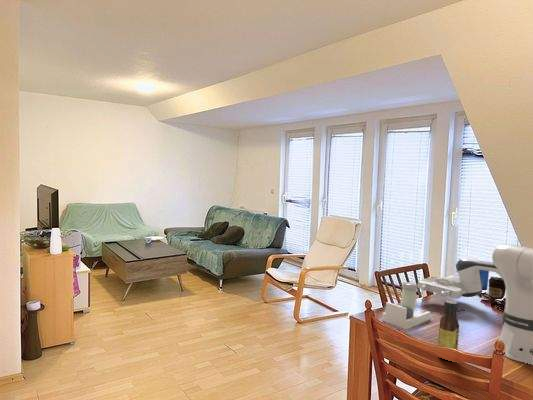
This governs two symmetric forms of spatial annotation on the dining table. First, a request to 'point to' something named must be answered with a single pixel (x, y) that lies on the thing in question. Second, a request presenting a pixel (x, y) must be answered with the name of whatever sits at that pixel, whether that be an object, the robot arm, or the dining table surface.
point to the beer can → (484, 279)
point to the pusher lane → (402, 316)
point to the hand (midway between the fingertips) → (432, 291)
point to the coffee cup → (496, 288)
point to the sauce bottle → (449, 326)
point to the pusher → (408, 312)
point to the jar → (409, 295)
